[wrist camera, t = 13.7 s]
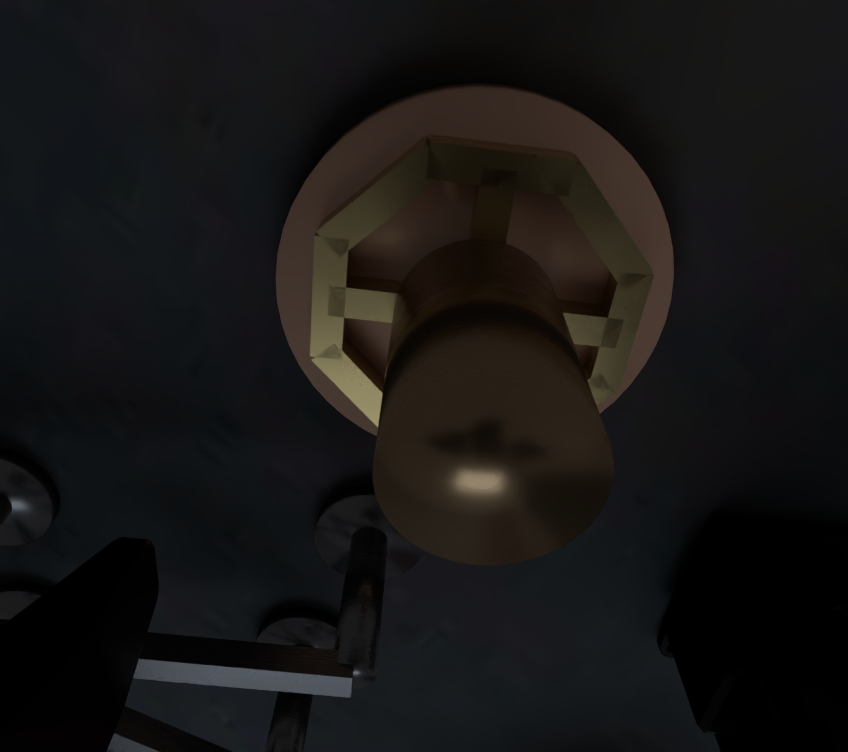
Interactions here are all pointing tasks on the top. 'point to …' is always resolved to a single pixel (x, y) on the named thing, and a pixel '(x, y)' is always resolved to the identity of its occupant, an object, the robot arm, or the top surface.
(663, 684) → the top surface
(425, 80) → the top surface
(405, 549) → the zigzag metal pull handle
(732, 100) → the top surface
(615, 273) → the octagonal handwheel knob
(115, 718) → the robot arm
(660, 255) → the coaster
